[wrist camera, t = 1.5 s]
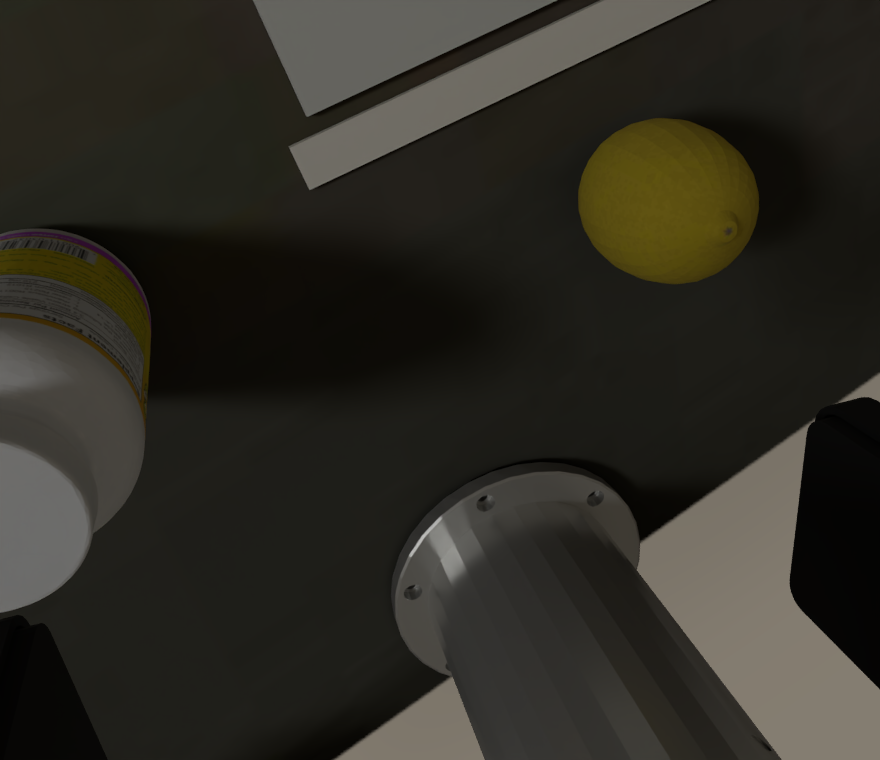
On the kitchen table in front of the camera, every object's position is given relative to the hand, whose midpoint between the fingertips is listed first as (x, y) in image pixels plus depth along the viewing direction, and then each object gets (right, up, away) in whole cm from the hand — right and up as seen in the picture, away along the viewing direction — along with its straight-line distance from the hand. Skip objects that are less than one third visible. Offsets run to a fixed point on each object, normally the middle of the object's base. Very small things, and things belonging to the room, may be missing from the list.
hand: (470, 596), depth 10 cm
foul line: (+3, +14, +19) cm, 24 cm away
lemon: (+6, +11, +22) cm, 26 cm away
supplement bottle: (-14, +5, +19) cm, 24 cm away
